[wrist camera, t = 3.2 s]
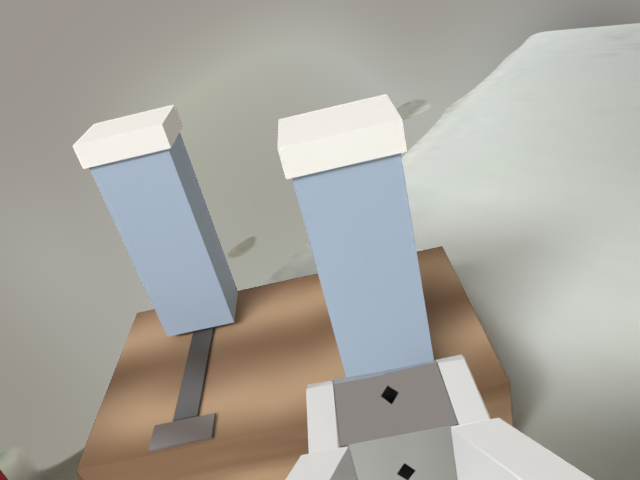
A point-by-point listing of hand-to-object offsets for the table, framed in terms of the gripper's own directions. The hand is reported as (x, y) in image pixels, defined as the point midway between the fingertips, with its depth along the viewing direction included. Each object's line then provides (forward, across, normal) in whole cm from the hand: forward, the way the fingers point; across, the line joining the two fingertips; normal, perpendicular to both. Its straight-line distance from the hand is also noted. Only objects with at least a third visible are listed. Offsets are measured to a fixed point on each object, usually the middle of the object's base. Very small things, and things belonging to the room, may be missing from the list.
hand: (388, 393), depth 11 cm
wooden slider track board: (+16, +4, +15) cm, 22 cm away
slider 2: (+12, 0, +10) cm, 16 cm away
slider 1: (+20, +10, +10) cm, 24 cm away
